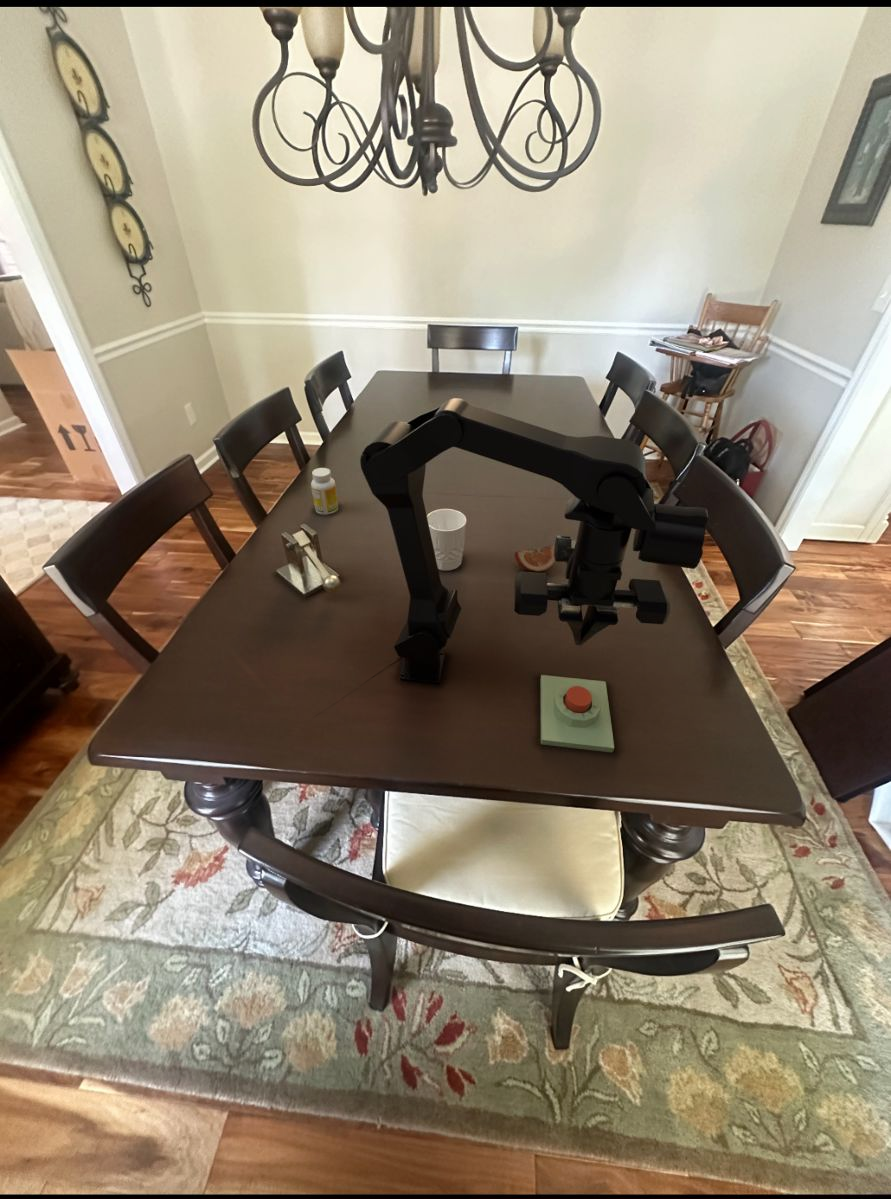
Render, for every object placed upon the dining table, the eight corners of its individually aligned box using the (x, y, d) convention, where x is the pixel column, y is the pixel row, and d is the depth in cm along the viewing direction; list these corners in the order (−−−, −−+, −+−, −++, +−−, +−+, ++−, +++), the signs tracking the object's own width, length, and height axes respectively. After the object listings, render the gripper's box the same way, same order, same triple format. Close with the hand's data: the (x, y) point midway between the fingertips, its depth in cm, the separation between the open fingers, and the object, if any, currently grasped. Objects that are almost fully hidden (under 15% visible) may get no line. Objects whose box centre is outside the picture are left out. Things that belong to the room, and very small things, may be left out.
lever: (342, 590, 96) (345, 583, 94) (327, 598, 95) (330, 591, 92) (302, 536, 98) (305, 527, 95) (288, 543, 96) (290, 534, 94)
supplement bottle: (314, 516, 118) (307, 478, 112) (316, 504, 122) (309, 466, 116) (338, 515, 118) (332, 477, 112) (339, 503, 122) (334, 465, 116)
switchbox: (612, 752, 72) (617, 740, 70) (540, 744, 73) (543, 732, 71) (604, 686, 81) (608, 673, 79) (540, 679, 82) (542, 667, 80)
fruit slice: (546, 555, 107) (549, 535, 104) (560, 575, 102) (564, 554, 99) (508, 562, 105) (510, 542, 102) (521, 582, 100) (523, 561, 97)
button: (590, 714, 74) (593, 707, 73) (565, 711, 74) (567, 704, 73) (588, 694, 77) (590, 687, 75) (564, 692, 77) (566, 684, 76)
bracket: (340, 579, 101) (333, 536, 94) (305, 598, 96) (295, 554, 90) (311, 557, 106) (302, 514, 99) (277, 574, 102) (265, 530, 95)
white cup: (461, 575, 102) (462, 533, 95) (422, 570, 103) (421, 528, 96) (467, 552, 108) (469, 511, 101) (431, 547, 109) (430, 506, 102)
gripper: (666, 518, 66) (637, 608, 76) (520, 510, 68) (510, 600, 78) (687, 571, 58) (651, 665, 68) (520, 561, 59) (509, 654, 70)
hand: (578, 643), depth 71 cm, fingers closed
